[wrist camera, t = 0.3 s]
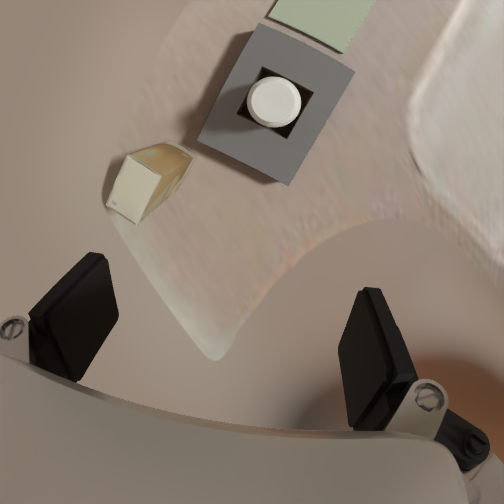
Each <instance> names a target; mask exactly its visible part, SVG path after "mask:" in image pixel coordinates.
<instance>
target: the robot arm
mask: <svg viewBox="0 0 504 504" xmlns="http://www.w3.org/2000/svg"><path fill="white" fill-rule="evenodd" d="M28 314H29V316H30V318H31V320H30V321H29V322H28V321H27V319H26V318H24V317H22V316H12V317H10V318H7V319H6V320H4V322H2V323H1V324H0V504H504V464H503V463H502V462H501V461H500V460H499V459H498V457H497V456H496V455H495V454H494V453H493V454H492V455H490V454H489V451H490V443H489V440H488V438H487V436H486V435H485V433H483V432H482V431H481V430H480V429H478V428H477V427H475V426H474V425H472V424H470V423H469V422H467V421H466V420H464V419H463V418H461V417H460V416H458V415H457V414H455V413H454V412H452V411H450V410H449V409H447V407H448V396H447V394H446V392H445V390H444V389H443V387H442V386H441V385H439V384H438V383H437V382H435V381H432V380H428V379H421V380H419V379H418V376H417V374H416V371H415V368H414V366H413V363H412V360H411V358H410V355H409V352H408V350H407V347H406V345H405V342H404V340H403V337H402V335H401V332H400V330H399V328H398V326H397V325H396V323H395V321H394V318H393V316H392V314H391V311H390V310H389V307H388V305H387V302H386V300H385V298H384V296H383V294H382V291H381V289H379V288H371V287H365V288H364V289H363V290H362V291H358V293H357V296H356V299H355V302H354V305H353V308H352V310H351V313H350V316H349V319H348V322H347V324H346V327H345V329H344V332H343V335H342V337H341V340H340V343H339V346H338V355H339V361H340V368H341V374H342V380H343V387H344V394H345V401H346V409H347V416H348V424H349V426H350V427H353V431H311V430H289V429H276V428H265V427H264V428H263V427H255V426H246V425H239V424H232V423H225V422H218V421H212V420H207V419H201V418H195V417H191V416H185V415H181V414H177V413H172V412H168V411H163V410H160V409H155V408H152V407H148V406H144V405H140V404H137V403H134V402H130V401H127V400H124V399H120V398H117V397H114V396H111V395H108V394H105V393H101V392H99V391H96V390H93V389H90V388H88V387H85V386H82V385H80V384H77V383H76V382H77V381H80V380H81V379H82V377H83V375H84V374H85V372H86V370H87V368H88V367H89V365H90V363H91V362H92V360H93V359H94V357H95V355H96V354H97V352H98V350H99V349H100V347H101V346H102V344H103V342H104V341H105V339H106V338H107V336H108V335H109V333H110V331H111V330H112V328H113V327H114V325H115V324H116V322H117V320H118V317H119V312H118V308H117V304H116V299H115V295H114V290H113V285H112V280H111V275H110V269H109V264H108V260H107V259H106V258H105V256H104V255H103V254H100V253H94V252H89V253H88V254H86V255H85V257H83V258H82V259H81V260H80V261H79V262H78V263H77V264H76V265H75V266H74V267H73V268H72V269H71V270H70V271H69V272H67V274H65V276H63V277H62V278H61V279H60V280H59V281H58V282H57V284H55V285H54V286H53V287H52V288H51V289H50V291H49V292H48V293H47V294H46V295H45V296H44V297H43V298H42V299H41V300H40V301H39V302H38V303H37V304H36V305H35V306H34V307H33V308H32V310H31V311H30V312H29V313H28Z"/></svg>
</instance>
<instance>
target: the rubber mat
mask: <svg viewBox="0 0 504 504" xmlns="http://www.w3.org/2000/svg"><path fill="white" fill-rule="evenodd" d="M374 2H375V0H278V2H277V3H276V5H275V6H274V8H273V9H272V11H271V13H270V14H269V16H268V17H269V18H271V19H274V20H276V21H279V22H281V23H283V24H285V25H288V26H290V27H292V28H294V29H296V30H299V31H301V32H303V33H305V34H307V35H309V36H311V37H313V38H315V39H317V40H319V41H320V42H322V43H324V44H326V45H328V46H330V47H332V48H333V49H335V50H337V51H339V52H340V53H342V54H343V53H344V51H345V50H346V48H347V46H348V45H349V43H350V41H351V40H352V38H353V36H354V35H355V33H356V31H357V30H358V28H359V27H360V25H361V23H362V22H363V20H364V18H365V17H366V15H367V13H368V12H369V10H370V9H371V7H372V5H373V4H374Z"/></svg>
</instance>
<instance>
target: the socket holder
mask: <svg viewBox="0 0 504 504" xmlns="http://www.w3.org/2000/svg"><path fill="white" fill-rule="evenodd" d="M263 70H266V71H268V72H270V73H272V74H274V75H277V76H279V77H281V78H284V79H286V80H288V81H289V82H291V83H293V84H295V85H296V86H298V87H300V88H302V89H304V90H306V91H308V92H310V93H311V95H310V97H309V99H308V100H307V102H306V104H305V106H304V107H303V109H302V111H301V113H300V114H299V116H298V118H297V120H296V121H295V123H294V125H293V127H292V128H291V130H290V132H289V134H288V135H287V137H286V136H284V135H282V134H280V133H278V132H276V131H274V130H272V129H270V128H268V127H266V126H264V125H262V124H260V123H258V122H256V121H254V120H252V119H250V118H248V117H246V116H244V115H242V114H240V112H241V110H242V109H243V107H244V105H245V103H246V101H247V97H248V93H249V91H250V89H251V87H252V86H253V85H254V84H255V83H256V82H257V81H258V79H259V77H260V75H261V74H262V72H263ZM354 74H355V71H353V70H352V69H350V68H348V67H347V66H345V65H343V64H342V63H340V62H338V61H337V60H335V59H333V58H331V57H329V56H328V55H326V54H324V53H322V52H320V51H318V50H317V49H315V48H313V47H311V46H309V45H307V44H305V43H303V42H301V41H299V40H297V39H295V38H293V37H290V36H288V35H286V34H284V33H282V32H279V31H277V30H275V29H273V28H270V27H268V26H265V25H263V24H260V23H259V24H258V25H257V27H256V29H255V30H254V32H253V34H252V35H251V37H250V39H249V41H248V42H247V44H246V46H245V47H244V49H243V51H242V53H241V54H240V56H239V58H238V60H237V62H236V63H235V65H234V67H233V69H232V71H231V73H230V74H229V76H228V78H227V80H226V82H225V84H224V86H223V88H222V90H221V92H220V94H219V96H218V98H217V100H216V102H215V104H214V106H213V108H212V110H211V112H210V114H209V116H208V118H207V120H206V122H205V124H204V126H203V128H202V131H201V133H200V135H199V137H198V139H197V141H199V142H201V143H203V144H205V145H207V146H210V147H212V148H214V149H216V150H218V151H220V152H222V153H224V154H226V155H228V156H230V157H233V158H235V159H237V160H239V161H241V162H243V163H245V164H247V165H249V166H251V167H253V168H255V169H257V170H259V171H260V172H262V173H264V174H266V175H268V176H270V177H272V178H274V179H276V180H278V181H280V182H281V183H283V184H285V185H287V186H289V184H290V183H291V181H292V179H293V178H294V176H295V174H296V172H297V171H298V169H299V167H300V166H301V164H302V162H303V160H304V159H305V157H306V155H307V154H308V152H309V150H310V149H311V147H312V145H313V143H314V142H315V140H316V138H317V137H318V135H319V133H320V131H321V130H322V128H323V126H324V125H325V123H326V121H327V120H328V118H329V116H330V114H331V113H332V111H333V109H334V108H335V106H336V104H337V103H338V101H339V99H340V97H341V96H342V94H343V92H344V91H345V89H346V87H347V86H348V84H349V82H350V80H351V79H352V77H353V75H354Z"/></svg>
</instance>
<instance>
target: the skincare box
mask: <svg viewBox="0 0 504 504" xmlns="http://www.w3.org/2000/svg"><path fill="white" fill-rule="evenodd" d="M195 158H196V156H195V155H194V154H192V153H191V152H190V151H188V150H187V149H185V148H183V147H182V146H180V145H179V144H177V143H175V142H174V141H168V142H164V143H161V144H158V145H155V146H152V147H149V148H146V149H143V150H140V151H137V152H134V153H131V154H129V155H127V156H126V158H125V161H124V163H123V165H122V167H121V169H120V172H119V174H118V176H117V178H116V180H115V183H114V186H113V188H112V190H111V193H110V195H109V198H108V201H107V203H106V206H108V207H109V208H111V209H112V210H114V211H115V212H116V213H118V214H119V215H121V216H122V217H124V218H125V219H127V220H128V221H130V222H132V223H133V224H135V225H138V224H139V223H140V222H141V221H142V220H144V219H145V218H146V217H147V216H148V215H149V214H150V213H151V212H153V211H154V210H155V209H156V208H157V207H158V206H159V205H161V204H162V203H163V202H164V201H165V200H166V199H168V198H169V197H170V196H171V195H172V194H174V193H175V192H176V190H177V189H178V187H179V186H180V184H181V182H182V181H183V179H184V177H185V176H186V174H187V172H188V170H189V169H190V167H191V165H192V163H193V161H194V160H195Z"/></svg>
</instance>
